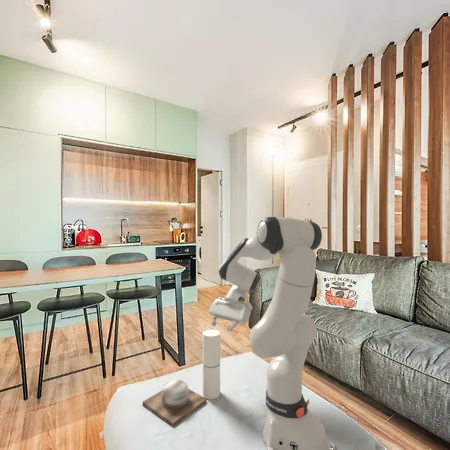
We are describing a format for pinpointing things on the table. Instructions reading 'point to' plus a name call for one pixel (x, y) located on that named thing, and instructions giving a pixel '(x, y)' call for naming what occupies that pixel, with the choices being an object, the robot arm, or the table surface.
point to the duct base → (174, 412)
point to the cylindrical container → (211, 364)
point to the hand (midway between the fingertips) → (220, 328)
